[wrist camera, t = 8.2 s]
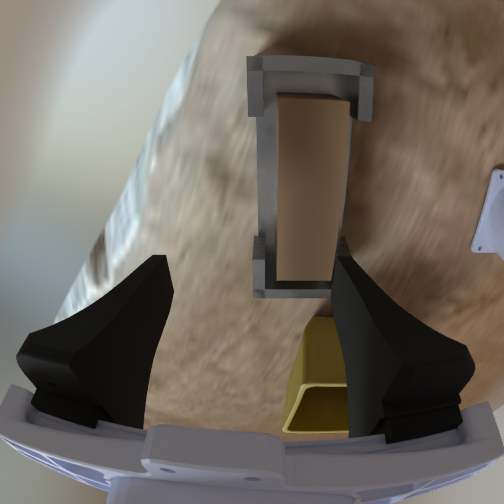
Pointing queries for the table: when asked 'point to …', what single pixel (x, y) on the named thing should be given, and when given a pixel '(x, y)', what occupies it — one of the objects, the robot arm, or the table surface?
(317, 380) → the flower pot
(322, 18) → the table surface
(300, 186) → the block
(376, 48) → the table surface
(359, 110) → the bracket
